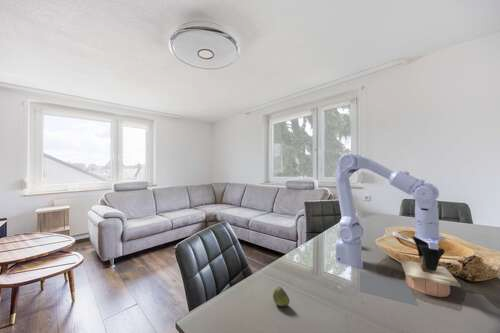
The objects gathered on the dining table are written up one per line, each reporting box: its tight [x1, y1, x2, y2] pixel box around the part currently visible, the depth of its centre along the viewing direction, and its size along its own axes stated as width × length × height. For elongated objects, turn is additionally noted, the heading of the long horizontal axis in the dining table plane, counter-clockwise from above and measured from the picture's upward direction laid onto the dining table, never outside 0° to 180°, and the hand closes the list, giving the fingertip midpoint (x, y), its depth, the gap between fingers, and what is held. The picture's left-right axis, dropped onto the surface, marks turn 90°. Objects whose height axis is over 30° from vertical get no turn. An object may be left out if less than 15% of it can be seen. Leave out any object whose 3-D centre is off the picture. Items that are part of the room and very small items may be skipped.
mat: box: [359, 270, 418, 306], centre depth 65 cm, size 14×14×1 cm
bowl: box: [405, 275, 451, 298], centre depth 64 cm, size 10×10×5 cm
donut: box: [336, 225, 341, 239], centre depth 103 cm, size 10×3×10 cm, turn 16°
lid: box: [399, 256, 462, 288], centre depth 64 cm, size 12×12×5 cm
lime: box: [272, 285, 290, 307], centre depth 56 cm, size 4×5×5 cm
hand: (427, 264), depth 64 cm, fingers open, 7 cm apart
